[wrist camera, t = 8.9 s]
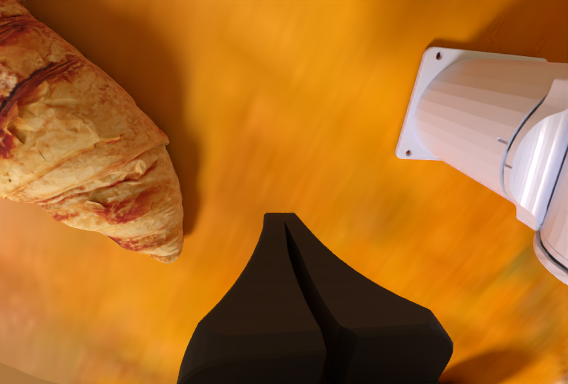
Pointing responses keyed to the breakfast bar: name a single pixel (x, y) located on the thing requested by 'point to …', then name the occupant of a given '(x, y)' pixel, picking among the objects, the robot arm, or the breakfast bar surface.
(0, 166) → the croissant
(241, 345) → the robot arm
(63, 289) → the breakfast bar surface
